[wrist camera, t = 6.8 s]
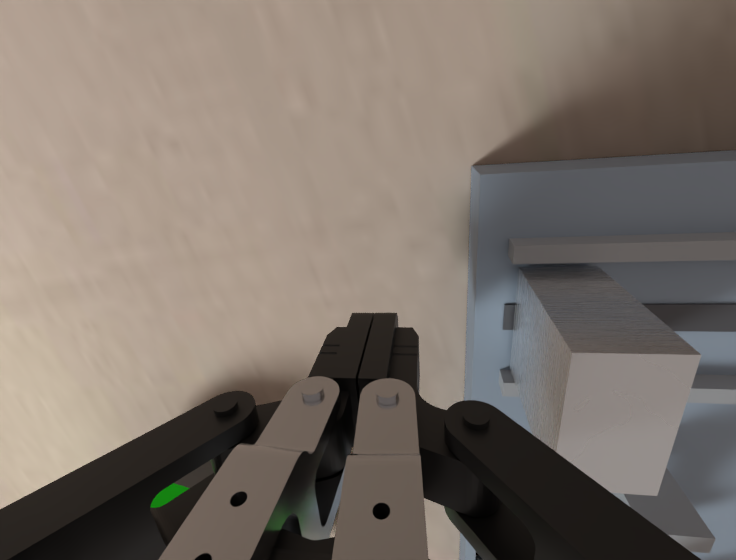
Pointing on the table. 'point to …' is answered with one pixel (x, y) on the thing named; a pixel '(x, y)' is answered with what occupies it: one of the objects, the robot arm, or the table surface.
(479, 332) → the panel
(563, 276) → the slider knob
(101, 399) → the table surface
